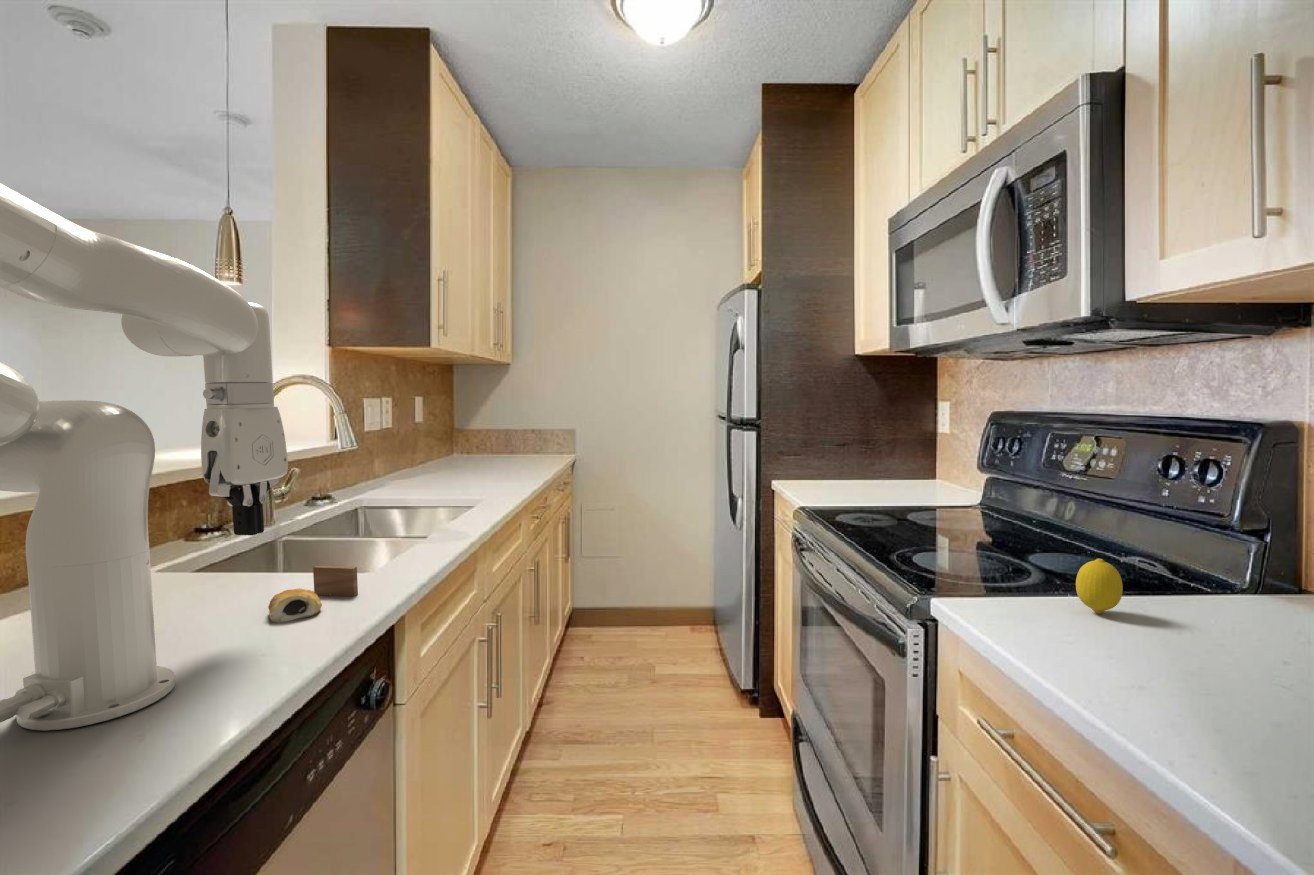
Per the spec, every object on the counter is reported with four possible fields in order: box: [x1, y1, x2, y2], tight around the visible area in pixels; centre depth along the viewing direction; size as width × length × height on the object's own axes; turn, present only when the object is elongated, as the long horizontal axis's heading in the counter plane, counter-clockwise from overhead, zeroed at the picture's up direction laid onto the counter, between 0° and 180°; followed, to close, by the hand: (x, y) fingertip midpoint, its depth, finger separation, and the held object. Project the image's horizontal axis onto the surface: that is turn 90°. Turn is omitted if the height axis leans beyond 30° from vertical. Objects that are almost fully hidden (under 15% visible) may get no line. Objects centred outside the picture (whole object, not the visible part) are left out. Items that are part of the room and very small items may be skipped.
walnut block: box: [312, 565, 359, 597], centre depth 103 cm, size 1×7×4 cm, turn 82°
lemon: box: [1075, 558, 1124, 615], centre depth 92 cm, size 6×6×8 cm
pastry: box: [268, 588, 323, 623], centre depth 96 cm, size 9×7×4 cm
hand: (249, 533), depth 86 cm, fingers closed
